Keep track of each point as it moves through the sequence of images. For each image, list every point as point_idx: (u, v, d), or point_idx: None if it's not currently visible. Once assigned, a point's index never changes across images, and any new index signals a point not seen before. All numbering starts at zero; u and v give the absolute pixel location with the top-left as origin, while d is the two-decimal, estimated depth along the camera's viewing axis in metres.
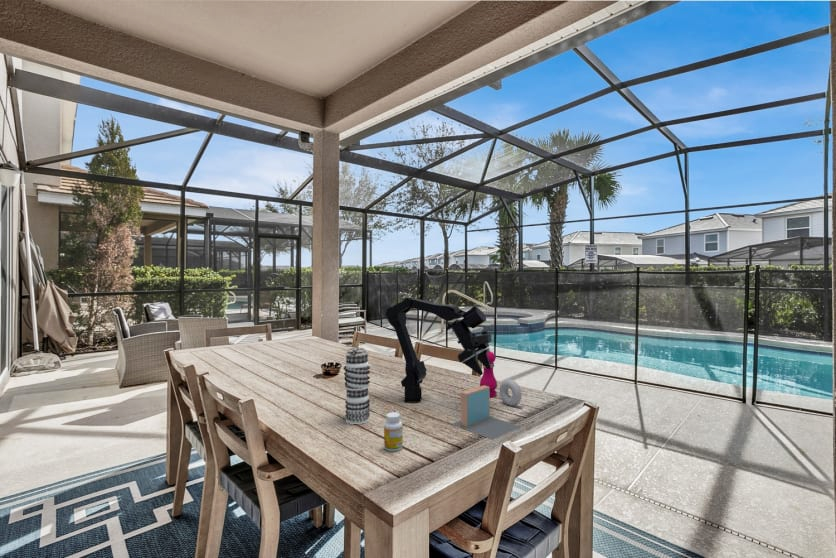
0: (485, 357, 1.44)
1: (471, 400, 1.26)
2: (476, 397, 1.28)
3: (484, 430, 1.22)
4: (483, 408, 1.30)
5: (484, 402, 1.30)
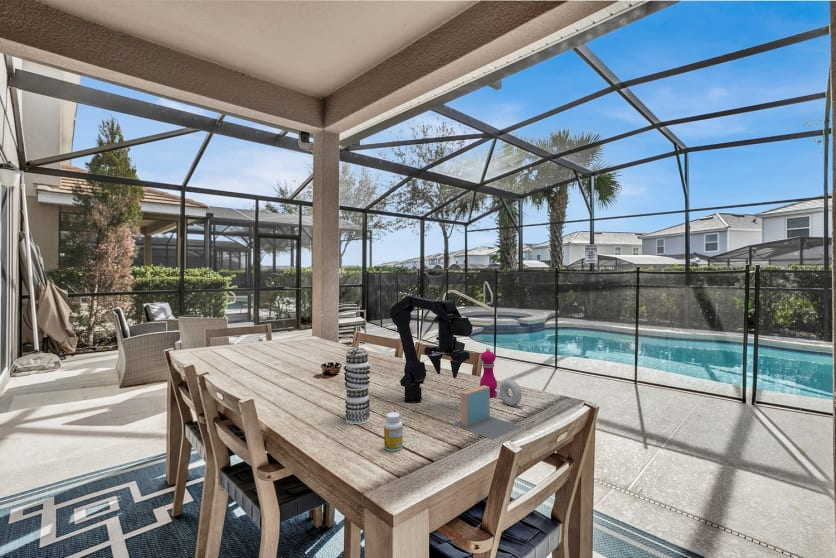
0: (439, 361, 1.45)
1: (471, 400, 1.26)
2: (476, 397, 1.28)
3: (484, 430, 1.22)
4: (483, 408, 1.30)
5: (484, 402, 1.30)
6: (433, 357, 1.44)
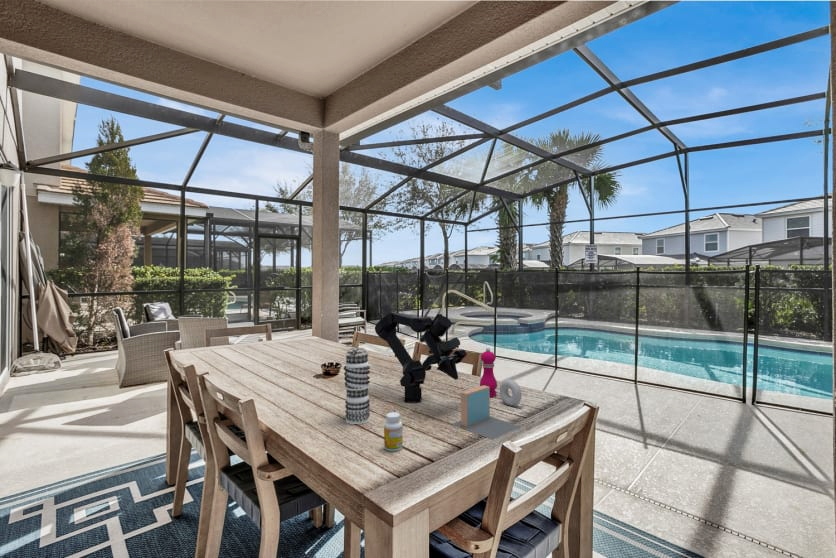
0: (452, 367, 1.38)
1: (471, 400, 1.26)
2: (476, 397, 1.28)
3: (484, 430, 1.22)
4: (483, 408, 1.30)
5: (484, 402, 1.30)
6: None
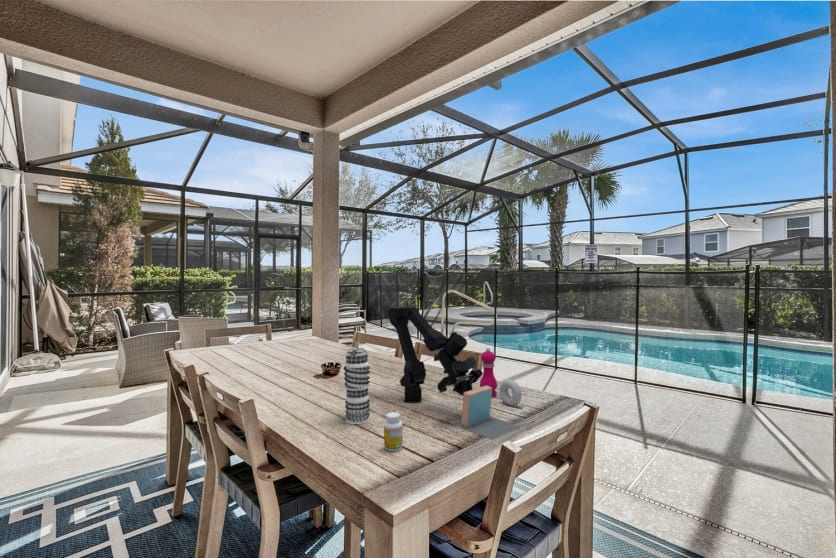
0: (468, 388, 1.32)
1: (473, 401, 1.25)
2: (478, 398, 1.27)
3: (484, 430, 1.22)
4: (484, 408, 1.30)
5: (486, 403, 1.30)
6: None
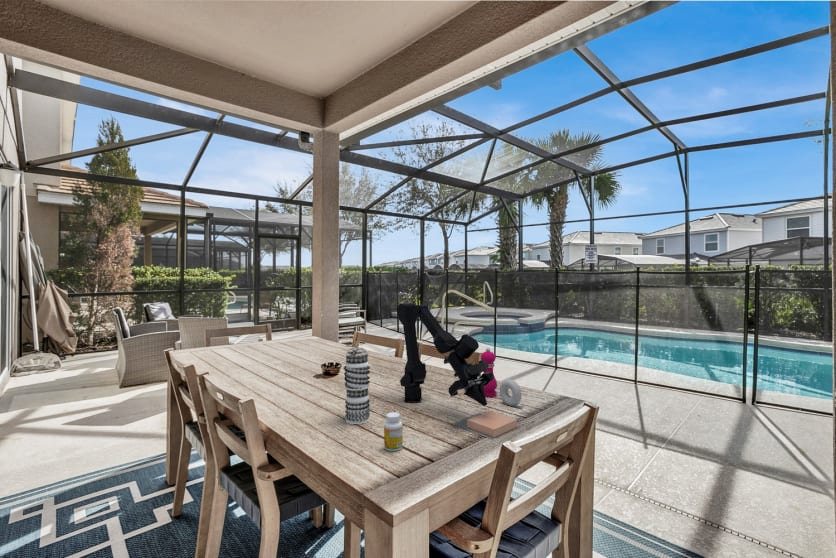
0: (480, 392, 1.28)
1: None
2: None
3: None
4: None
5: None
6: None
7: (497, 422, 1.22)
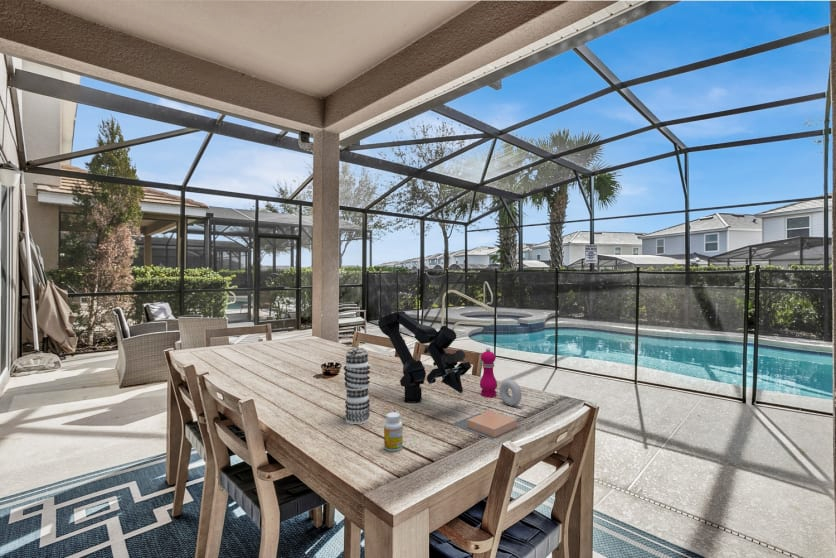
0: (457, 380, 1.36)
1: None
2: None
3: None
4: None
5: None
6: None
7: (497, 422, 1.22)
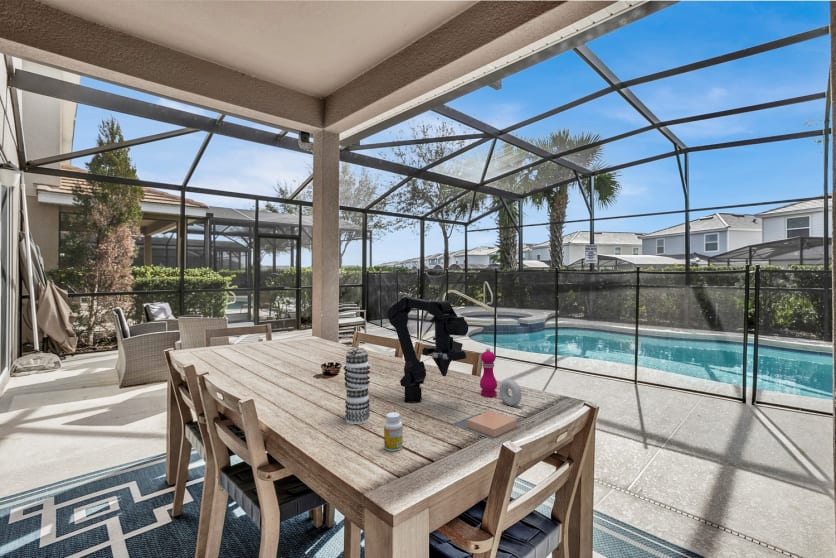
0: None
1: None
2: None
3: None
4: None
5: None
6: (438, 359, 1.41)
7: (497, 422, 1.22)
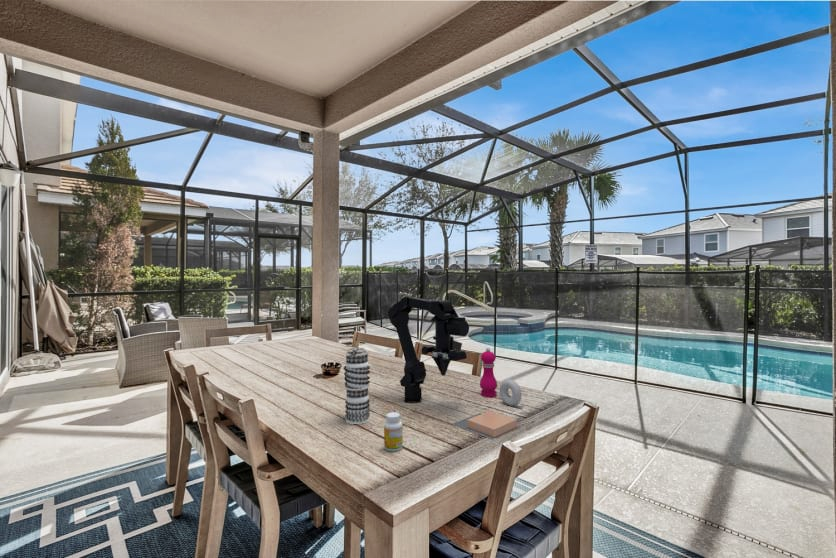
0: None
1: None
2: None
3: None
4: None
5: None
6: (437, 358, 1.42)
7: (497, 422, 1.22)
